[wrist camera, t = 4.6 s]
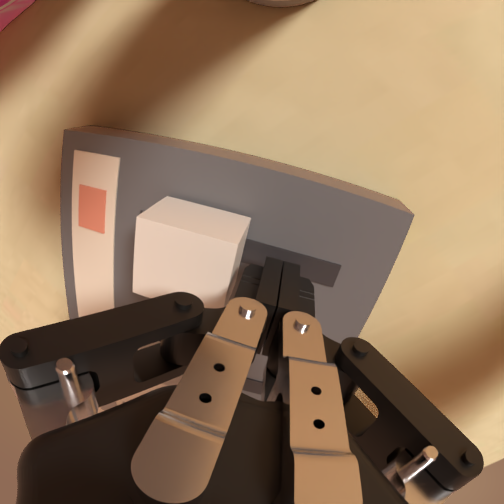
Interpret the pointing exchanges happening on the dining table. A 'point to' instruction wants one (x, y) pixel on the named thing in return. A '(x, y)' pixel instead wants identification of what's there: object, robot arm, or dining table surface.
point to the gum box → (11, 10)
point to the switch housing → (228, 199)
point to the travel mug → (280, 2)
